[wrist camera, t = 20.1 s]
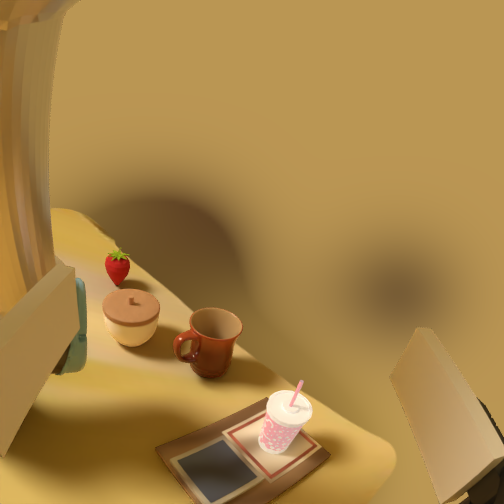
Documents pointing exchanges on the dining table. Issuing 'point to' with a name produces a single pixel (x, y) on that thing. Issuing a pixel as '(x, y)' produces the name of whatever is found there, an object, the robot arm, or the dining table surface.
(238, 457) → the stamp board
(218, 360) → the mug
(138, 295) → the lidded jar
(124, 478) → the dining table surface
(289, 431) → the beverage cup
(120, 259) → the strawberry
